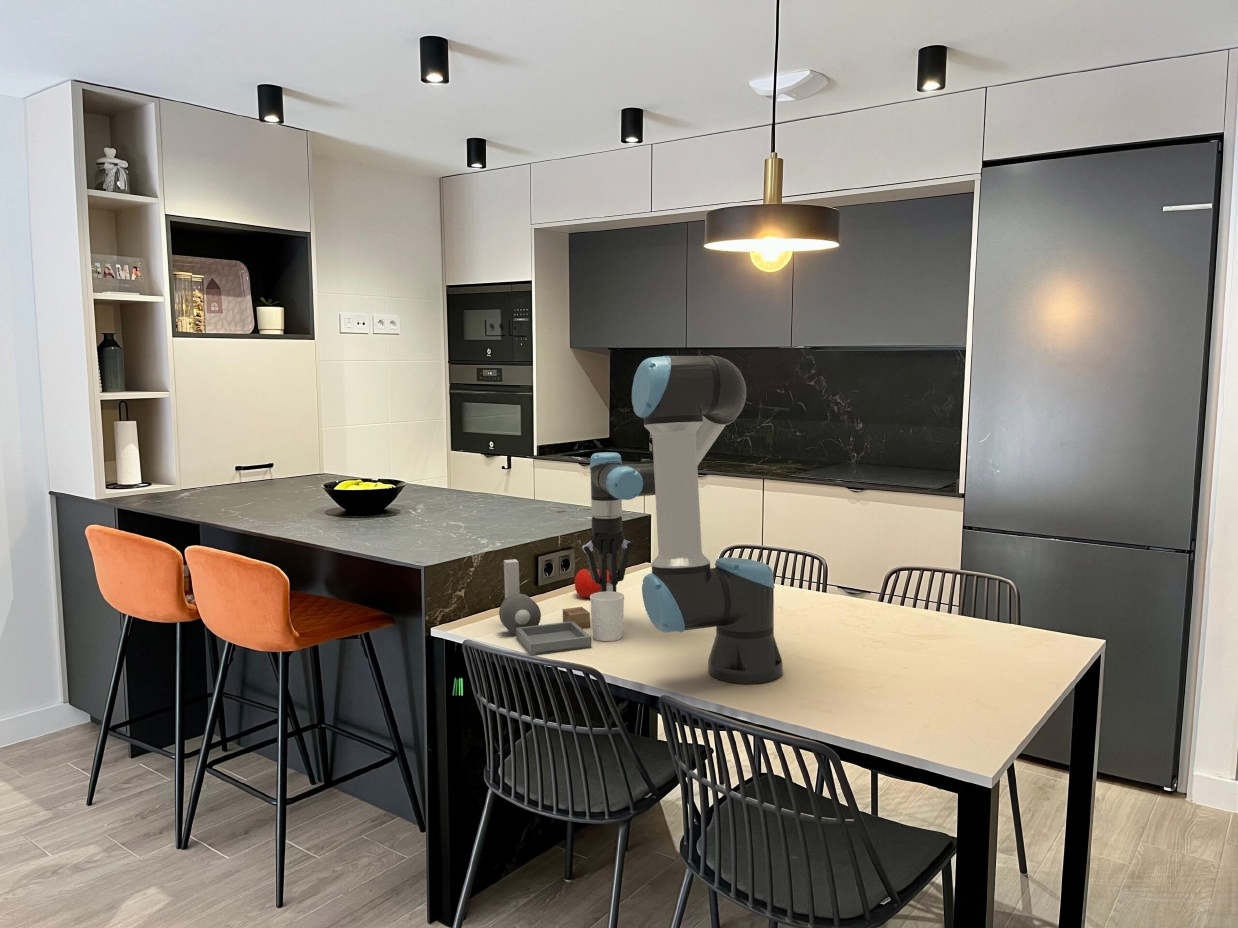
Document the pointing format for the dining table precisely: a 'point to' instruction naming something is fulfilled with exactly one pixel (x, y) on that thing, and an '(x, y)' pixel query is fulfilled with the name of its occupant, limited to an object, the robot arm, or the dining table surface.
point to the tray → (553, 638)
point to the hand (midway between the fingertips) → (608, 609)
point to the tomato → (587, 583)
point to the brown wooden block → (577, 616)
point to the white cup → (607, 615)
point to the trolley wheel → (516, 601)
